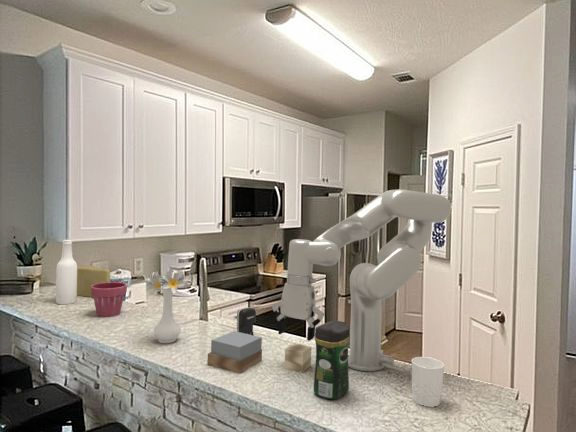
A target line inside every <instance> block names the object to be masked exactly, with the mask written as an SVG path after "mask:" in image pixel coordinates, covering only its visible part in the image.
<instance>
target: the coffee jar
mask: <svg viewBox="0 0 576 432" xmlns="http://www.w3.org/2000/svg"><path fill="white" fill-rule="evenodd" d="M314 341H315V365H314V367H315V368H314V377H313V392H314V394H315V395H316V396H318V397H320V398H322V399H324V400H325V399H326V400H327V399H328V400H337V399H340V398H341V397H343V396H344V395H345V394H346V393H347V392H348V391H349V389H350V387H349V386H350V385H349V384H350V383H349V381H350V380H349V379H350V378H349V366H348V355H349V346H350V326H349V325H348V324H347V322H345V321H340V320H337V319H333V320H330V321H328V322H325V323H323V324H320V325H318V326H315V336H314Z"/></svg>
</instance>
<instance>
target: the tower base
mask: <svg viewBox="0 0 576 432" xmlns="http://www.w3.org/2000/svg"><path fill="white" fill-rule="evenodd" d="M262 361H263V348H261V351H259V352H257V353H255V354H253V355H251V356H249V357H247V358H245V359H243V360H241V361H238V360H235V359H231V358H227V357H224V356H220V355H216V354H213V353H211V351H210V352H208V353H207V366H209V367H213V368H216V369H217V368H218V369H221V370H223V371H229V372H233V373H237V374H242V373H244V372H245V371H247V370H248V369H250V368H251V367H253V366H255V365H257V364H258V363H259V362H262Z"/></svg>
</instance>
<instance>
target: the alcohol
mask: <svg viewBox="0 0 576 432" xmlns="http://www.w3.org/2000/svg"><path fill="white" fill-rule="evenodd" d="M77 267H78V264H77V262H76V260H75V259H74V258H73V240H72V239H63V240H62V249H61V258H60V260H59V261H58V263H57V264H56V269H55V272H56V274H55V303H56V304H57V305H60V306H66V305H73V304H75V303H76V302H77V301H78V295H77Z"/></svg>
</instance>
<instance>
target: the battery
mask: <svg viewBox="0 0 576 432" xmlns="http://www.w3.org/2000/svg"><path fill="white" fill-rule="evenodd" d="M254 323H257V312H256V309H255V308H253V307H249V306H248V307H243V308H239V309H238V310H237V312H236V332H240V333H245V334H249V335H253V336H255V335H254Z"/></svg>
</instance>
